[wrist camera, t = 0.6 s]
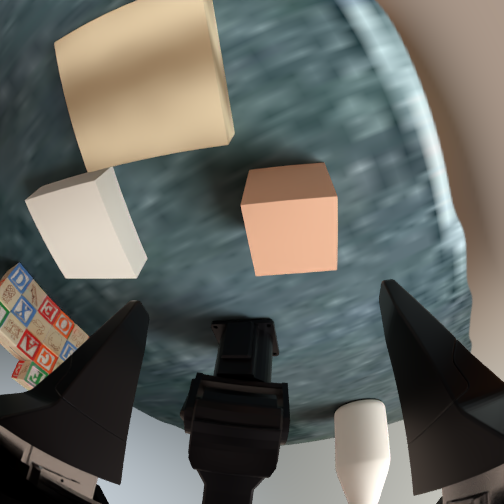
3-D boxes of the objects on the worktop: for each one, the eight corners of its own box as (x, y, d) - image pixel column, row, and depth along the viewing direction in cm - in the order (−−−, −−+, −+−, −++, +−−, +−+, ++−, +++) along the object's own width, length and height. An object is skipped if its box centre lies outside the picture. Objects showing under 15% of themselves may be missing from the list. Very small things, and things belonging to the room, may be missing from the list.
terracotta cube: (326, 225, 21) (336, 269, 17) (260, 230, 22) (256, 276, 18) (323, 162, 18) (337, 196, 14) (249, 169, 18) (240, 205, 15)
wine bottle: (329, 417, 47) (327, 554, 23) (339, 400, 41) (338, 563, 17) (375, 412, 46) (379, 545, 22) (391, 394, 40) (400, 550, 16)
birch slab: (235, 131, 17) (228, 144, 15) (108, 157, 19) (87, 172, 16) (212, -8, 11) (199, -20, 9) (80, 40, 13) (54, 42, 10)
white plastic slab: (148, 255, 24) (136, 278, 22) (79, 259, 26) (65, 278, 23) (115, 163, 19) (94, 180, 17) (44, 184, 20) (24, 200, 18)
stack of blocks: (6, 270, 29) (-37, 333, 19) (20, 260, 27) (-30, 331, 17) (94, 359, 41) (70, 419, 31) (116, 359, 39) (92, 426, 29)
